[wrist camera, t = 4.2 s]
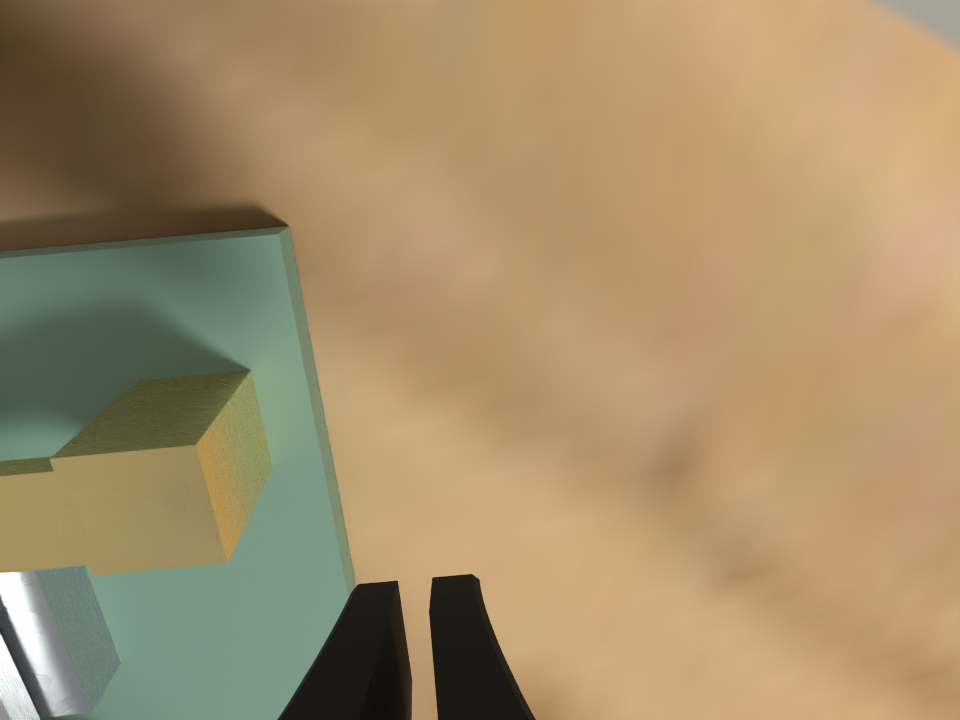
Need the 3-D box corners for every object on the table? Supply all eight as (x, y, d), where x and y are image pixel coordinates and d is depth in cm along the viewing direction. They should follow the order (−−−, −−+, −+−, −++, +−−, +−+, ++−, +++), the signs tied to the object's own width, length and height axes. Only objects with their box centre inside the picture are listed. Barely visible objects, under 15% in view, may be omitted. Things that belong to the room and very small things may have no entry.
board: (388, 757, 24) (374, 911, 20) (-41, 802, 24) (-157, 968, 19) (289, 225, 17) (230, 270, 12) (-329, 280, 17) (-628, 346, 12)
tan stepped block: (272, 468, 18) (228, 562, 14) (59, 488, 18) (-44, 589, 14) (251, 370, 17) (195, 445, 13) (23, 391, 17) (-99, 472, 13)
